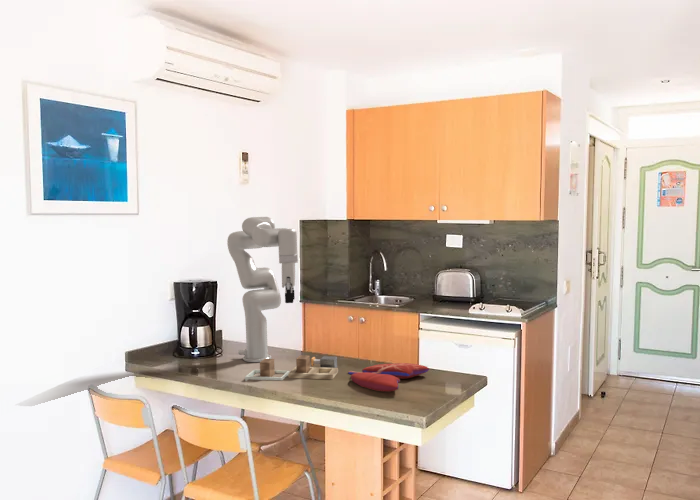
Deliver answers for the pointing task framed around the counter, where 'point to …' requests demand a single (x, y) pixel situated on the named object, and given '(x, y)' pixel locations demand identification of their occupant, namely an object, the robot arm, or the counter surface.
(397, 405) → the counter surface
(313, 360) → the plunger
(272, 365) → the block
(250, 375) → the tote
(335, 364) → the grey metal housing
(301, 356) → the block
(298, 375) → the pallet
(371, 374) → the anatomical model
